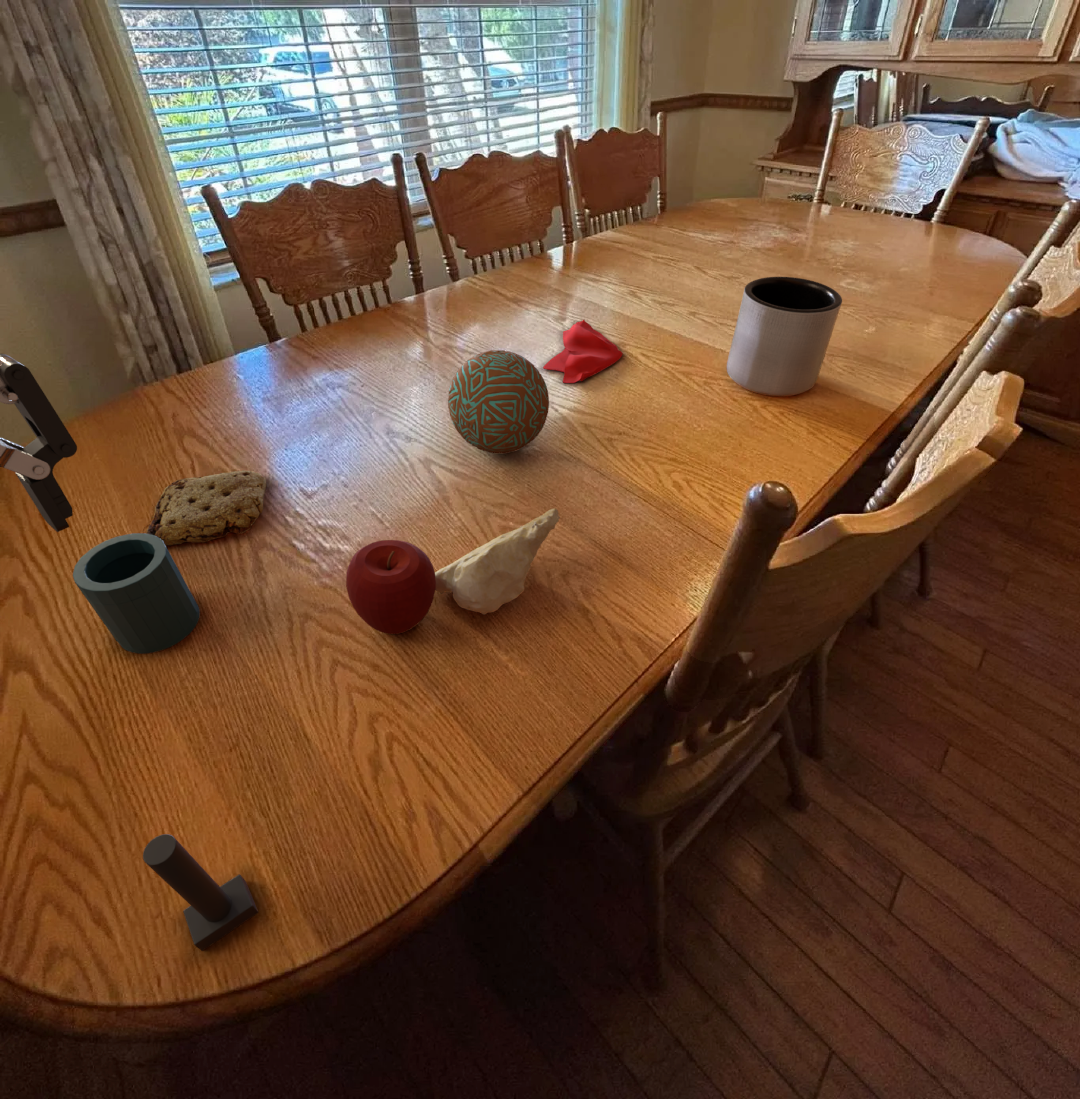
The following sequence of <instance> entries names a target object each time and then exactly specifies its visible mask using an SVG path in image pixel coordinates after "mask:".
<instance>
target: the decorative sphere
mask: <svg viewBox="0 0 1080 1099" xmlns="http://www.w3.org/2000/svg"><path fill="white" fill-rule="evenodd" d="M447 408H448V412H449V416H450V420H451V422H452V424H453V426H454V428H455V430H456V432H457V433H458V434H459V435H460V436H461V438H462V439H463V440H465V441H466V442H467V443H468V444H469V445H471V446H472V447H474V448H476V449H477V450H480V451H482V452H486V453H489V454H498V455H500V454H508V453H509V454H510V453H513V452H517V451H518V450H519V451H520V450H521V449H524V448H525V447H527V446H528V445H529V444H530V443H531V442H533V441H534V440H536V438H537V437H538V436H539V435H540V432H541V431H542V430H543V428H544V426H545V424H546V422H547V418H548V414H549V408H550V396H549V389H548V386H547V383H546V381H545V379H544V377H543V376H542V373H540V370H539V369H538V368H537V367H536V366H535V365H534V363H532V362H531V361H530V360H528V359H527V357H526V358H525V357H524V356H523V355H520V354H518V353H515V352H513V351H509V350H503V349H499V350H498V349H491V350H487V351H483V352H479V353H478V354H475V355H473V356H472V357H471V358H468V359H467V360H466V361H465V362H464V363H463V364H462V365H461V366H460V367H459V368H458V370H457V372H455V374H454V376H453V378H452V380H451V383H450V385H449V389H448V396H447Z"/></svg>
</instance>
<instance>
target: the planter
mask: <svg viewBox="0 0 1080 1099" xmlns="http://www.w3.org/2000/svg"><path fill="white" fill-rule="evenodd" d="M741 297H742V298H741V301H740V305H739V306H740V307H739V311H738V315H737V319H736V323H735V326H734V327H735V328H734V330H733V331H734V332H733V335H732V340H731V344H730V348H729V352H728V356H727V360H726V373H727V375H728V376H729V377H730V379H731V380H732V381H733V382H735V383H736V385H738V386H739V387H741V388H743V389H745V390H747V391H749V392H751V393H755V394H759V395H764V396H768V397H791V396H796V395H800V394H803V393H805V392H807V391H809V390H811V389H812V388H813V387H814V386H815V385H816V383H817V380H818V379H819V375H820V372H821V369H822V367H823V363H824V360H825V357H826V353H827V349H828V347H829V343H830V341H831V337H832V334H833V331H834V328H835V325H836V322H837V319H838V315H839V313H840V311H841V307H842V304H843V297H842V295H841V294H840V293H839V292H837V291H836V290H835V289H834V288H832V287H830V286H828V285H826V284H823V283H821V282H819V281H814V280H810V279H806V278H800V277H795V276H794V277H793V276H767V277H761V278H758V279H754V280H752V281H750V282H748V283H747V284H746V285H745V286H744V289H743V293H742V296H741Z"/></svg>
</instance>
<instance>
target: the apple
mask: <svg viewBox="0 0 1080 1099" xmlns="http://www.w3.org/2000/svg"><path fill="white" fill-rule="evenodd" d="M435 572H436V571H435V568H434V565H433V562H432V560H430V558H429V556H428V555H427V553H426V552H425V551H423V550H422V549H421V548H420V547H418V546H416V545H415V544H413V543H411V542H409V541H404V540H399V539H385V540H384V539H382V540H376V541H374V542H371V543H368V544H367V545H365V546H363V547H361V548H360V549H358V550H357V551H356V552H355V553H354V555H352V558H351V559H350V562H349V564H348V566H347V568H346V574H345V576H346V578H345V579H346V580H345V587H346V591H347V596H348V599H349V601H350V604H351V605H352V607H353V609H354V610H355V612H356V613H357V615H358V616H359V617H360V618H361V620H362V621H364V622H365V624H367V625H368V626H369V627H370V628H372V629H374V630H375V631H377V632H379V633H383V634H386V635H399V634H402V633H405V632H407V631H409V630H412V629H413V628H414V627H416V626H418V624H420V622H421V621H423V619H424V618H425V617H426V615H427V614H428V612H429V611H430V609H431V608H432V604H433V602H434V598H435V595H436V590H435V589H436V577H435Z"/></svg>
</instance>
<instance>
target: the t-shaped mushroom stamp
mask: <svg viewBox="0 0 1080 1099" xmlns="http://www.w3.org/2000/svg"><path fill="white" fill-rule="evenodd" d="M142 859H143V861H144V863H145V864H146V865H147V866H148V867H149V868H150V869H151V870H153V871H154V873H155V874H157V875H158V876H159V877H160V878H161V879H162V880H163V881H164V882H165V883H166V884H167V885H168V886H170V887H171V889H173V890H174V892H176V893H177V894H178V896H180V898H182V899H183V900H184V901H186V902H187V904H188V905H190V906H188V907H186V908H185V909H183V911H182V913H183V916H184V919H185V922H186V924H187V927H188V931H189V933H190V934H189V935H190V937H191V940H192V942H193V945H194V946H195V948H197V949H198V950H200V951H201V952H203V951H205V950H206V949H207V948H209V947H210V946H212V945H213V944H215V943H216V942H218V941H219V940H221V939H222V938H223V937H225V936H226V935H228V934H229V933H231V932H232V931H234V930H236V929H237V928H238V927H240V926H241V925H243V924H244V923H245V922H247V921H248V920H250V919H251V918H253V917H254V916H255V915H257V914H259V910H258V907H257V905H256V903H255V900H254V897H253V895H252V893H251V891H250V889H249V885H248V883H247V881H246V880H245V878H244V877H243V876H242V875H241V874H238V875H236V876H234V877H232V878H231V879H230V880H228V881H227V882H225V883H223V884H222V885H219V884H218V883H217V882H216V881H215V879H213V877H212V876H211V875H210V874H209V873H208V872H207V871H206V870H205V869H204V868H203V866H201V864H199V862H198V861H197V860H196V859H195V858H194V857H193V855H191V853H189V852H188V851H187V850H186V849H185V847H184V846H183V845H182V844H181V843H180V842H179V841H178V840H177V838H176V837H175V836H174V835H172V834H168V833H164V834H160V835H157V836H155V837H154V838H152V839H150V841H149V842H148V843H147V844H146V846H145V847H144V850H143V852H142Z"/></svg>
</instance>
